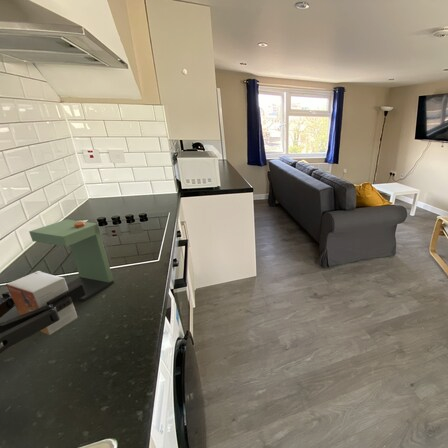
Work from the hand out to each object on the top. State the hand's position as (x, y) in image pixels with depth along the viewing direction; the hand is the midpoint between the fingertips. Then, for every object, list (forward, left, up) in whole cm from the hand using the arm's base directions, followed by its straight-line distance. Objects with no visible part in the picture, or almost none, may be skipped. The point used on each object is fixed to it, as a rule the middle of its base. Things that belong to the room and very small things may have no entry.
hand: (66, 286), depth 58 cm
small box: (0, -5, -6) cm, 8 cm away
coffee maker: (-20, +16, -16) cm, 30 cm away
